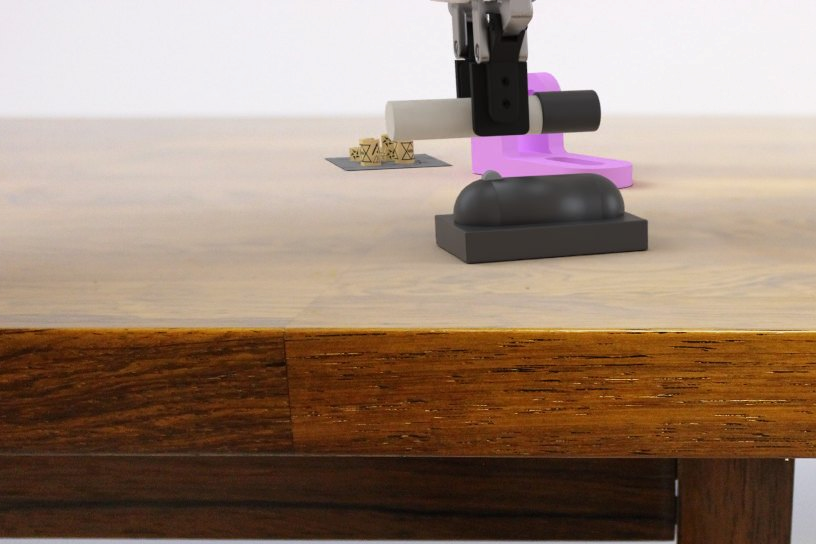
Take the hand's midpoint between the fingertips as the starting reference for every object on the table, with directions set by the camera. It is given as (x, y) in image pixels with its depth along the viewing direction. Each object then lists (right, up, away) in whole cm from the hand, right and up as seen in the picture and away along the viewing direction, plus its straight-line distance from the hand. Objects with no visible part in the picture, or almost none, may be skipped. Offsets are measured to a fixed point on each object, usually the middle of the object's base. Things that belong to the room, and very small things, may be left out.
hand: (493, 129), depth 86 cm
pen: (0, 0, 0) cm, 0 cm away
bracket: (+2, +1, +20) cm, 20 cm away
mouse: (+3, -8, -6) cm, 10 cm away
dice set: (-12, +4, +29) cm, 32 cm away
